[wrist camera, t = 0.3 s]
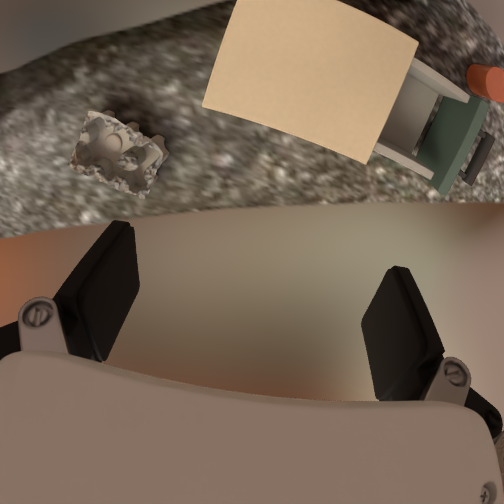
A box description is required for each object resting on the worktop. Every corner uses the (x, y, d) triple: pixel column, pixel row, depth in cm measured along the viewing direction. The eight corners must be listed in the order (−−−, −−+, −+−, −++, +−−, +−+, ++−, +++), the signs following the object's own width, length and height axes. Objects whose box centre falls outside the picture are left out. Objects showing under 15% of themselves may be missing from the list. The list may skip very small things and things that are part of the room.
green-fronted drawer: (479, 113, 24) (515, 128, 18) (444, 185, 30) (472, 212, 24) (355, 35, 22) (377, 28, 16) (320, 123, 28) (331, 139, 22)
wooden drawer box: (384, 45, 22) (419, 42, 16) (344, 139, 29) (366, 164, 22) (255, -4, 21) (248, -28, 14) (220, 95, 27) (201, 106, 20)
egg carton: (82, 153, 32) (63, 165, 28) (103, 99, 28) (83, 106, 24) (150, 195, 34) (136, 211, 31) (179, 143, 31) (166, 154, 27)
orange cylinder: (469, 57, 21) (489, 60, 18) (493, 72, 21) (513, 76, 18) (463, 88, 23) (482, 93, 20) (486, 101, 23) (506, 108, 20)
